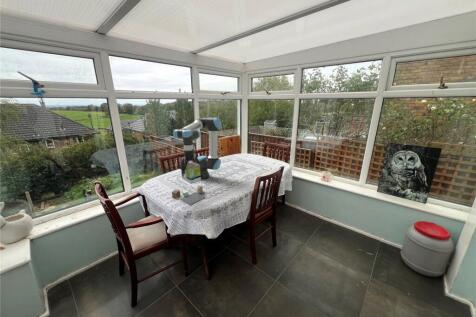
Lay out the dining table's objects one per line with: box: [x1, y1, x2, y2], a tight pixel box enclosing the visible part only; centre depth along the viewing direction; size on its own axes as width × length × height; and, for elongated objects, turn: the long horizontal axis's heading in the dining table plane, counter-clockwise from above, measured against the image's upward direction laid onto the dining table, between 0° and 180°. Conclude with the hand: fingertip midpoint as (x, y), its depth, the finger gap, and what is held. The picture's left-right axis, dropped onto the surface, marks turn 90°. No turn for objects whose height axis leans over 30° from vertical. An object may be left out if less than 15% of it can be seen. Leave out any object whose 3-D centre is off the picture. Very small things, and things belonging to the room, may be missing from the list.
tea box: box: [180, 161, 202, 185], centre depth 153 cm, size 15×10×15 cm, turn 44°
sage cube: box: [182, 189, 190, 197], centre depth 166 cm, size 4×4×4 cm
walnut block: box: [171, 189, 181, 199], centre depth 164 cm, size 5×5×5 cm
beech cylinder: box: [196, 184, 204, 195], centre depth 171 cm, size 5×5×6 cm
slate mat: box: [180, 191, 206, 206], centre depth 161 cm, size 16×14×1 cm
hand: (191, 175), depth 154 cm, fingers closed on tea box, 10 cm apart
